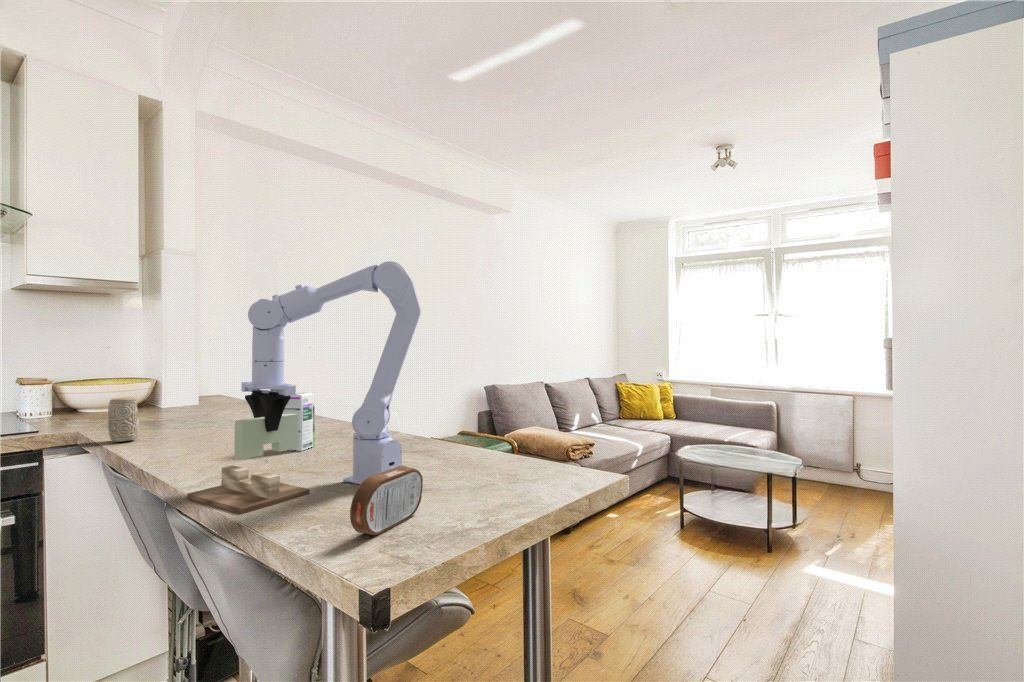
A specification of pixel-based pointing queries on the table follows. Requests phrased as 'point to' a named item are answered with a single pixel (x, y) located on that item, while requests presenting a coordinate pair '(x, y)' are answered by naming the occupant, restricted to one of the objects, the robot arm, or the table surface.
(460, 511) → the table surface
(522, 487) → the table surface
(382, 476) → the tin
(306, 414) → the syrup box
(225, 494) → the slotted base
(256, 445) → the sage plate
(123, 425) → the carving
